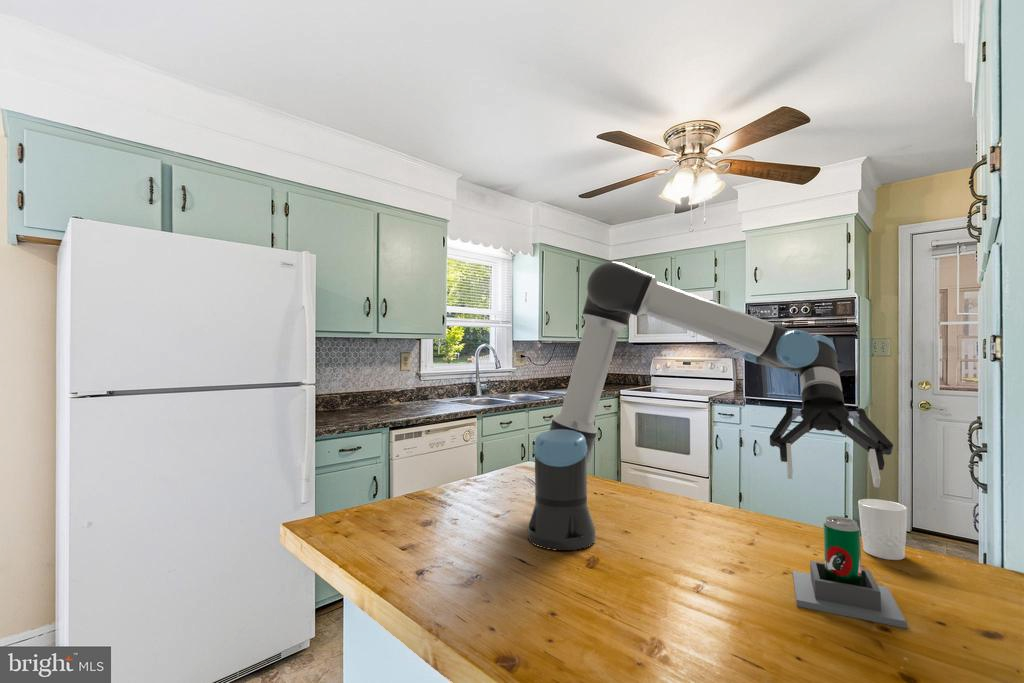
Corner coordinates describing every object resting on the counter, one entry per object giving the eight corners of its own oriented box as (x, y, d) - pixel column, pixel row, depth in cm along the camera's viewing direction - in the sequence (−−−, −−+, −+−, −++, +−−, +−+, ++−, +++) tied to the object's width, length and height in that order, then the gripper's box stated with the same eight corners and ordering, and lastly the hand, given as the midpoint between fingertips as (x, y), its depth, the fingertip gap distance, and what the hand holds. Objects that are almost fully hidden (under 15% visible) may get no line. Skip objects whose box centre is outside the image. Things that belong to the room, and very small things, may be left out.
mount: (796, 606, 77) (796, 581, 77) (792, 576, 88) (792, 554, 88) (906, 628, 71) (905, 600, 71) (887, 593, 81) (887, 569, 81)
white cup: (898, 548, 100) (896, 500, 100) (916, 564, 92) (914, 512, 93) (854, 544, 102) (852, 497, 103) (868, 558, 95) (866, 508, 95)
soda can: (868, 602, 76) (866, 526, 77) (833, 599, 77) (831, 524, 78) (852, 587, 81) (850, 516, 82) (820, 584, 82) (818, 514, 83)
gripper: (891, 406, 99) (914, 498, 85) (757, 402, 111) (757, 482, 97) (896, 382, 95) (921, 475, 81) (756, 380, 106) (756, 461, 93)
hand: (832, 479), depth 89 cm, fingers open, 13 cm apart
